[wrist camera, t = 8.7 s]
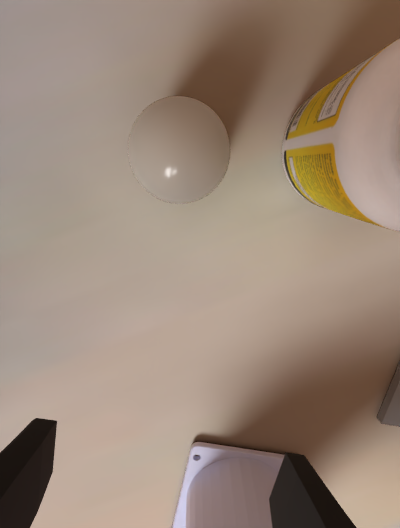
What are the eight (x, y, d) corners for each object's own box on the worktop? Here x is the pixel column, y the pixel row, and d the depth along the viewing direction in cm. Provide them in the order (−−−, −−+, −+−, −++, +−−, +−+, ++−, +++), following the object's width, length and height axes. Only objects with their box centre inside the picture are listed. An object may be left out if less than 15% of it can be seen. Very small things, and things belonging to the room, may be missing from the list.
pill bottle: (384, 208, 19) (624, 267, 8) (273, 205, 19) (370, 259, 8) (407, 86, 17) (754, -46, 6) (285, 81, 17) (429, -58, 6)
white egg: (212, 201, 18) (218, 212, 14) (140, 186, 18) (121, 193, 13) (227, 125, 17) (240, 108, 13) (152, 108, 17) (135, 85, 12)
